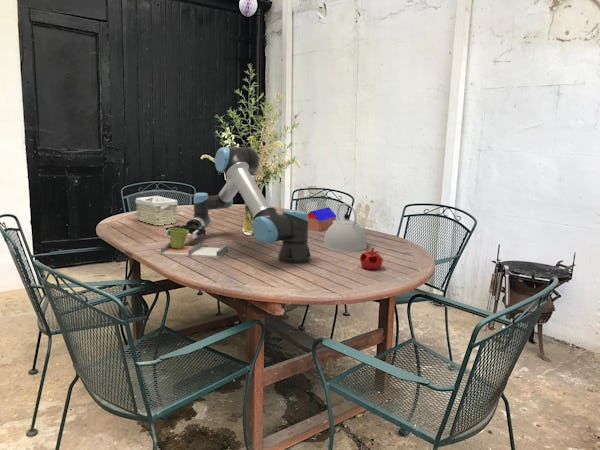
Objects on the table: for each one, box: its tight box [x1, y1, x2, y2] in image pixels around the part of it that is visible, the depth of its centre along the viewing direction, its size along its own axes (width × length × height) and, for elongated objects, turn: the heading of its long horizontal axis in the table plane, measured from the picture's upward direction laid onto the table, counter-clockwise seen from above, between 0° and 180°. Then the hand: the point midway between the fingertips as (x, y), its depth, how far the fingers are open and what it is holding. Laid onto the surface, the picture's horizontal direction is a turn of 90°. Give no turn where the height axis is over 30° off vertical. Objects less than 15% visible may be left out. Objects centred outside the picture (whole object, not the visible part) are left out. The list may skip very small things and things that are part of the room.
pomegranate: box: [359, 247, 384, 270], centre depth 214 cm, size 10×10×9 cm
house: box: [307, 206, 337, 232], centre depth 294 cm, size 12×20×12 cm, turn 145°
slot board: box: [160, 242, 229, 259], centre depth 231 cm, size 28×14×3 cm, turn 82°
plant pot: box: [169, 228, 189, 249], centre depth 233 cm, size 9×9×9 cm
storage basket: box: [134, 195, 178, 226], centre depth 295 cm, size 24×16×15 cm
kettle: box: [323, 202, 368, 253], centre depth 251 cm, size 25×23×23 cm
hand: (179, 234), depth 228 cm, fingers open, 13 cm apart
